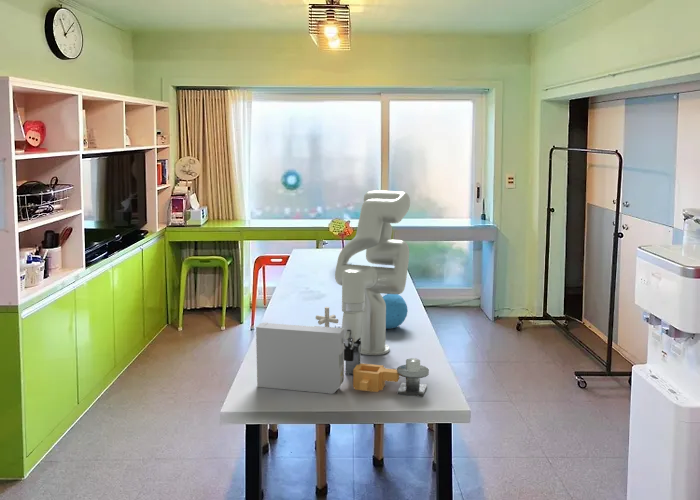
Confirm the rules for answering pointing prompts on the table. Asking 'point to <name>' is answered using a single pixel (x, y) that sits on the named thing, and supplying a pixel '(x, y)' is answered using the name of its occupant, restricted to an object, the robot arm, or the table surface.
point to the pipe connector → (326, 318)
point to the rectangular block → (352, 364)
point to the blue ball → (395, 310)
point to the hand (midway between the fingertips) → (352, 356)
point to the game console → (300, 357)
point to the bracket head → (372, 377)
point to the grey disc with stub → (412, 378)
